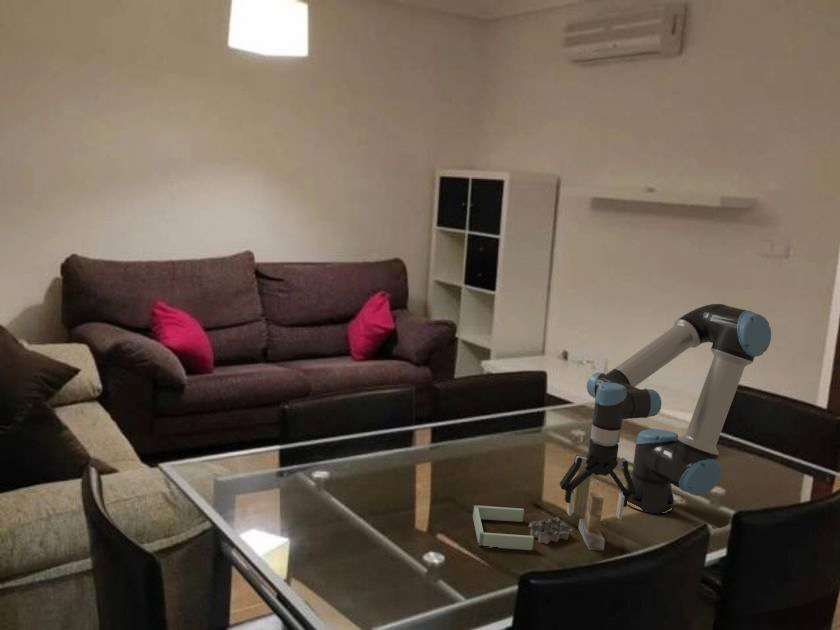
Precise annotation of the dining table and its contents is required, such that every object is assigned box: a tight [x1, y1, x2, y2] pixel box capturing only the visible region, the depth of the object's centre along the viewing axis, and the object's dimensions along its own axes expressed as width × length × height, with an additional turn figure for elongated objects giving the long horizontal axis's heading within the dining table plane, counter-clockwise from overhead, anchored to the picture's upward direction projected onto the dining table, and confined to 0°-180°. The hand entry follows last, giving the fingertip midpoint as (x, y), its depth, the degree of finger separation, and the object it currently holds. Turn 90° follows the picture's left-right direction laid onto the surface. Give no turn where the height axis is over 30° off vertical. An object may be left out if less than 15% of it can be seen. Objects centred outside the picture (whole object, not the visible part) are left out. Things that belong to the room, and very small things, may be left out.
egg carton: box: [528, 516, 574, 545], centre depth 211 cm, size 11×8×4 cm
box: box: [472, 505, 535, 551], centre depth 210 cm, size 14×17×4 cm
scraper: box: [578, 491, 606, 552], centre depth 210 cm, size 4×12×13 cm, turn 2°
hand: (593, 515), depth 210 cm, fingers open, 13 cm apart
